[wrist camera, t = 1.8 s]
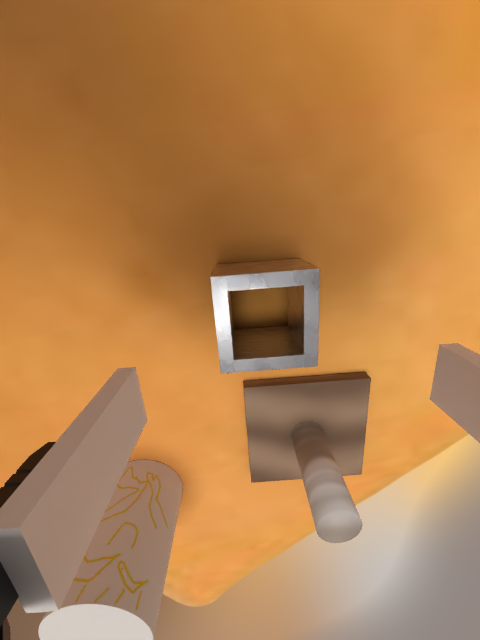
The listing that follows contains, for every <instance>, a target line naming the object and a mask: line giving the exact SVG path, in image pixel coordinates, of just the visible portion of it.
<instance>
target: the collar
mask: <svg viewBox="0 0 480 640" xmlns="http://www.w3.org/2000/svg"><path fill="white" fill-rule="evenodd" d="M210 280H211V289H212V298H213V307H214V316H215V325H216V334H217V343H218V352H219V361H220V370H221V373H234V372H247V371H260V370H273V369H287V368H300V367H313V366H318V334H319V290H320V268H318V267H316V266H314V265H312V264H310V263H308V262H306V261H304V260H302V259H300V258H293V259H281V260H268V261H255V262H242V263H230V264H217V265H216V266H215V268H214V270H213V272H212V274H211V277H210ZM275 287H287V295H288V325H286V326H273V327H260V328H247V329H234V327H233V315H232V304H231V293H230V291H237V290H250V289H263V288H275Z"/></svg>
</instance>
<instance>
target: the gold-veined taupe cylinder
mask: <svg viewBox="0 0 480 640" xmlns="http://www.w3.org/2000/svg"><path fill="white" fill-rule="evenodd" d="M182 491H183V485H182V481H181V479H180V477H179V476H178V474H177V473H176V472H175V471H174V470H173V469H172V468H170V467H169V466H167V465H165V464H163V463H160V462H157V461H153V460H135V461H131V462H128V463H127V465H126V467H125V469H124V471H123V473H122V476H121V478H120V480H119V482H118V484H117V486H116V489H115V491H114V493H113V495H112V497H111V499H110V502H109V504H108V506H107V508H106V510H105V512H104V515H103V517H102V519H101V521H100V523H99V525H98V528H97V530H96V532H95V534H94V536H93V538H92V540H91V543H90V545H89V547H88V549H87V551H86V553H85V556H84V558H83V560H82V562H81V564H80V566H79V569H78V571H77V573H76V575H75V577H74V579H73V582H72V584H71V586H70V588H69V590H68V592H67V595H66V597H65V599H64V601H63V603H62V605H61V608H60V610H59V611H49V612H46V613H45V615H44V618H43V620H42V622H41V624H40V626H39V637H40V640H154V634H155V629H156V624H157V619H158V614H159V609H160V604H161V599H162V594H163V588H164V583H165V578H166V573H167V568H168V563H169V558H170V553H171V547H172V542H173V537H174V532H175V527H176V522H177V517H178V512H179V507H180V501H181V496H182Z"/></svg>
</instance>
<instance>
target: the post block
mask: <svg viewBox="0 0 480 640" xmlns="http://www.w3.org/2000/svg"><path fill="white" fill-rule="evenodd" d="M370 382H371V378H370V377H369V376H368V375H367V373H366V372H356V373H343V374H330V375H317V376H303V377H290V378H277V379H264V380H251V381H243V383H244V397H245V409H246V421H247V434H248V446H249V458H250V470H251V483H252V482H265V481H279V480H293V479H303V482H304V486H305V490H306V493H307V497H308V501H309V504H310V508H311V512H312V516H313V519H314V523H315V527H316V530H317V534H318V535H319V537H320V538H321V539H323V540H325V541H327V542H330V543H341V542H345V541H349V540H351V539H353V538H354V537H356V536H357V535H358V534H359V533H360V531H361V529H362V521H361V519H360V516H359V514H358V512H357V509H356V507H355V505H354V502H353V500H352V498H351V495H350V493H349V491H348V488H347V486H346V484H345V481H344V479H343V477H342V476H347V475H360V474H362V464H363V454H364V444H365V434H366V423H367V413H368V403H369V392H370Z"/></svg>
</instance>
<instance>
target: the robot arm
mask: <svg viewBox="0 0 480 640" xmlns="http://www.w3.org/2000/svg"><path fill="white" fill-rule="evenodd" d="M430 400H431V401H432V402H433V403H435V404H436V405H437V406H438V407H439V408H440V409H441V410H443V411H444V412H445V413H446V414H447V415H448V416H449V417H451V418H452V419H453V420H454V421H455V422H456V423H458V424H459V425H460V426H461V427H462V428H463V429H464V430H466V431H467V432H468V433H469V434H470V435H471V436H472V437H474V438H475V439H476V440H477V441H478V442H479V443H480V355H479V354H477V353H475V352H473V351H471V350H469V349H468V348H466V347H464V346H462V345H460V344H458V343H454V344H441V345H439V350H438V356H437V361H436V367H435V373H434V378H433V384H432V390H431V395H430ZM146 421H147V417H146V412H145V408H144V403H143V399H142V394H141V390H140V385H139V381H138V376H137V372H136V367H133V368H120V369H117V370H116V372H115V373H114V374H113V375H112V376H111V377H110V379H109V380H108V381H107V382H106V383H105V385H104V386H103V387H102V388H101V389H100V391H99V392H98V393H97V394H96V395H95V396H94V398H93V399H92V400H91V401H90V402H89V404H88V405H87V406H86V407H85V408H84V410H83V411H82V412H81V413H80V414H79V415H78V417H77V418H76V419H75V420H74V421H73V423H72V424H71V425H70V426H69V427H68V429H67V430H66V431H65V432H64V433H63V434H62V436H61V437H60V438H59V439H58V440H57V442H48V443H47V444H45V445H44V446H42V447H41V448H40V449H38V450H37V451H36V452H34V453H33V454H32V455H30V456H29V457H28V459H27V460H26V461H25V462H24V463H23V464H22V465H21V466H20V467H19V469H18V470H17V472H16V474H13V475H12V476H11V477H10V478H9V480H8V481H7V482H6V483H5V486H4V487H1V488H0V640H10V626H9V623H8V620H7V618H6V617H7V615H8V614H9V612H10V610H11V608H12V607H13V605H14V603H15V602H16V600H17V598H18V599H19V600H20V602H21V604H22V606H23V608H24V610H25V611H26V613H33V612H49V611H59V610H60V608H61V605H62V603H63V601H64V599H65V597H66V595H67V592H68V590H69V588H70V586H71V584H72V582H73V579H74V577H75V575H76V573H77V571H78V569H79V566H80V564H81V562H82V560H83V558H84V556H85V553H86V551H87V549H88V547H89V545H90V543H91V540H92V538H93V536H94V534H95V532H96V530H97V528H98V525H99V523H100V521H101V519H102V517H103V515H104V512H105V510H106V508H107V506H108V504H109V502H110V499H111V497H112V495H113V493H114V491H115V489H116V486H117V484H118V482H119V480H120V478H121V476H122V473H123V471H124V469H125V467H126V465H127V463H128V460H129V458H130V456H131V454H132V452H133V450H134V447H135V445H136V443H137V441H138V439H139V437H140V434H141V432H142V430H143V428H144V426H145V424H146Z"/></svg>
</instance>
